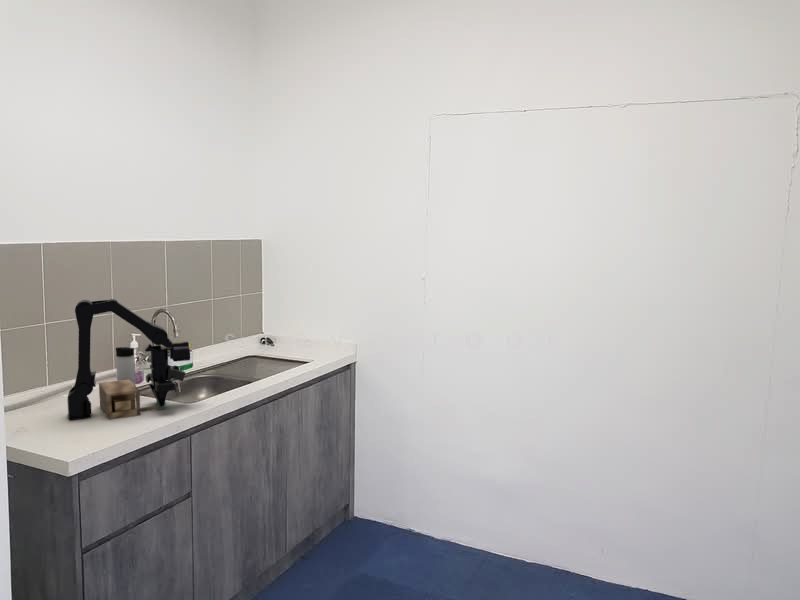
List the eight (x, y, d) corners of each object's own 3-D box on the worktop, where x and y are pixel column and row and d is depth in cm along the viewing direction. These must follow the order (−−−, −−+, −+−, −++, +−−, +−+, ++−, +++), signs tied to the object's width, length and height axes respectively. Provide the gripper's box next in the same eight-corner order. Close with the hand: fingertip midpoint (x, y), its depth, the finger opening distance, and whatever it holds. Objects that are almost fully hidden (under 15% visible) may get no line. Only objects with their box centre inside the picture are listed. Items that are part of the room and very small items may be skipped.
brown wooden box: (108, 419, 211) (107, 394, 210) (100, 406, 226) (98, 382, 225) (140, 414, 217) (139, 390, 216) (130, 402, 232) (129, 379, 230)
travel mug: (113, 399, 235) (111, 347, 233) (128, 395, 241) (126, 344, 238) (124, 402, 232) (122, 348, 230) (139, 397, 238) (137, 346, 236)
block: (115, 416, 215) (115, 402, 214) (113, 413, 219) (112, 399, 218) (166, 409, 224) (166, 395, 223) (163, 405, 228) (162, 392, 227)
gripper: (189, 365, 220) (191, 408, 222) (176, 355, 235) (177, 396, 237) (156, 368, 214) (158, 413, 216) (144, 358, 229) (146, 400, 231)
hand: (161, 405), depth 225 cm, fingers closed on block, 2 cm apart
